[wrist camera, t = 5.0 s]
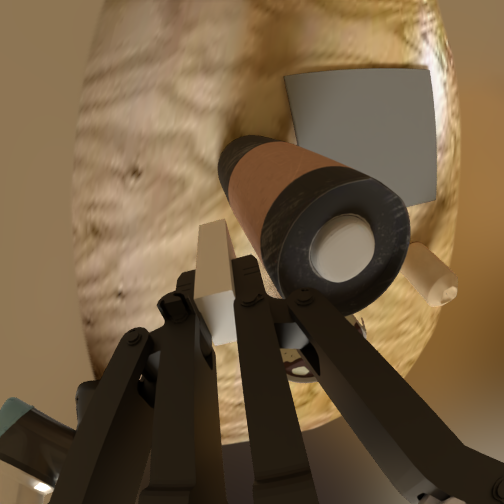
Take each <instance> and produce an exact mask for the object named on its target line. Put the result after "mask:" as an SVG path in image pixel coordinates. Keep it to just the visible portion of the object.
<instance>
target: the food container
mask: <svg viewBox="0 0 504 504" xmlns="http://www.w3.org/2000/svg"><path fill="white" fill-rule="evenodd" d="M345 318H346V319H347V320H348V321H349V322H350V323H351V324H352V325H353V326H354V327H355V328H356V329H357V330H358V331H359V332H360V333H361V334H362V335H363V337H364V338H365V339H366V329H365V325H364V321H363V319H362V318H361V320H362V324H363V326H361V324H360V323H359V322H358V320H357V319H356V318H355V316H354V315H353V314H352V315H349V316H346V317H345ZM280 351H281V354H282V358H283V362H284V366H285V370H286V374H287V378H288V380H289V381H292V382H297V383H313V382H318V381H317V379H316V378H315V376H314V375H313V373H312V372H311V371H310V369H309V368H308V366H307V365H306V363H305V362H304V361H303V359H302V358H301V356H300V355H299V353H298V352H297V350H296V349H280Z"/></svg>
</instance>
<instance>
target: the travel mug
mask: <svg viewBox="0 0 504 504" xmlns="http://www.w3.org/2000/svg"><path fill="white" fill-rule="evenodd" d="M218 176H219V180H220V183H221V185H222V188H223V190H224V192H225V195H226V197H227V199H228V202H229V204H230V206H231V208H232V211H233V213H234V214H235V216H236V218H237V220H238V222H239V223H240V225H241V227H242V229H243V230H244V232H245V234H246V236H247V237H248V239H249V241H250V243H251V244H252V246H253V248H254V250H255V252H256V253H257V255H258V257H259V259H260V260H261V262H262V264H263V266H264V268H265V269H266V271H267V273H268V275H269V276H270V278H271V280H272V282H273V284H274V285H275V287H276V289H277V291H278V292H279V294H280V295H281V297H282V298H283V299H287V298H288V296H289V295H290V294H291V293H292V292H293V291H295V290H297V289H300V288H308V287H310V288H314V289H317V290H318V291H320V292H321V293H322V294H323V295H324V296H325V297H326V298H327V299H328V300H329V301H330V302H331V303H332V304H333V306H334V307H335V308H336V309H337V310H338V311H339V312H340V313H341V314H342V315H343V316H344V317H346V316H349V315H352V314H354V313H356V312H358V311H360V310H362V309H364V308H365V307H367V306H368V305H370V304H371V303H373V302H374V301H375V300H376V299H377V298H379V297H380V296H381V295H382V294H383V293H384V292H385V291H386V290H387V288H388V287H389V286H390V285H391V284H392V282H393V281H394V279H395V278H396V276H397V275H398V273H399V271H400V269H401V268H402V265H403V263H404V261H405V258H406V255H407V252H408V248H409V243H410V219H409V215H408V211H407V208H406V206H405V203H404V202H403V200H402V199H401V198H400V197H399V196H398V195H397V194H396V193H394V192H393V191H392V190H391V189H389V188H388V187H387V186H385V185H384V184H383V183H382V182H380V181H378V180H376V179H375V178H373V177H370V176H368V175H366V174H364V173H362V172H360V171H357V170H355V169H353V168H351V167H348V166H346V165H344V164H341V163H339V162H337V161H334V160H332V159H330V158H327V157H325V156H322V155H320V154H317V153H315V152H312V151H310V150H307V149H305V148H302V147H300V146H297V145H294V144H291V143H287V142H284V141H280V140H275V139H271V138H267V137H263V136H256V135H248V136H243V137H240V138H238V139H236V140H234V141H232V142H231V143H230V144H229V145H228V146H227V147H226V148H225V149H224V151H223V152H222V154H221V156H220V159H219V162H218Z"/></svg>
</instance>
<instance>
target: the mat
mask: <svg viewBox="0 0 504 504" xmlns="http://www.w3.org/2000/svg"><path fill="white" fill-rule="evenodd" d="M284 80H285V85H286V89H287V94H288V99H289V103H290V108H291V113H292V118H293V123H294V128H295V134H296V139H297V145H298V146H300V147H302V148H305V149H307V150H310V151H312V152H315V153H317V154H320V155H322V156H325V157H327V158H330V159H332V160H334V161H337V162H339V163H341V164H344V165H346V166H348V167H351V168H353V169H355V170H357V171H360V172H362V173H364V174H366V175H368V176H370V177H373V178H375V179H376V180H378V181H380V182H382V183H383V184H384V185H385V186H387V187H388V188H389V189H391V190H392V191H393V192H394V193H396V194H397V195H398V196H399V197H400V198H401V199H402V200H403V202H404V203H405V206H406V207H409V206H413V205H417V204H422V203H426V202H430V201H434V200H436V186H437V146H436V125H435V111H434V101H433V92H432V84H431V76H430V70H423V69H398V68H373V69H347V70H333V71H321V72H312V73H303V74H295V75H288V76H284Z"/></svg>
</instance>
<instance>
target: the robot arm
mask: <svg viewBox="0 0 504 504" xmlns="http://www.w3.org/2000/svg"><path fill="white" fill-rule="evenodd" d="M176 287H177V288H176V291H173V292H170V293H168V294H166V295H165V296H163V297H162V298H161V299H160V300H159V301H158V304H157V307H158V309H159V311H160V312H161V314H162V316H163V318H164V320H165V323H164V325H163V326H162V327H160V328H158V329H156V330H154V331H152V332H150V333H149V332H148V331H147V330H146V329H145V328H142V327H137V328H133V329H131V330H129V331H128V332H127V333H125V334H124V336H123V337H122V338H121V340H120V342H119V344H118V346H117V348H116V350H115V352H114V354H113V356H112V358H111V360H110V362H109V364H108V366H107V368H106V370H105V372H104V374H103V376H102V378H101V380H100V381H87V382H83V383H81V384H80V385H79V387H78V390H77V393H76V398H75V399H76V410H77V420H78V425H77V429H76V430H74V429H72V428H70V427H68V426H66V425H64V424H62V423H60V422H58V421H56V420H55V419H53V418H51V417H49V416H47V415H46V414H44V413H42V412H40V411H39V410H37V409H36V408H34V406H30V405H28V404H27V403H25V402H23V401H21V400H20V399H18V398H15V397H11V398H9V399H7V400H6V402H5V403H4V404H3V406H2V408H1V410H0V504H43V502H44V496H45V495H46V494H48V493H51V492H53V493H52V496H51V499H50V502H49V503H48V504H135V501H136V497H137V494H138V490H139V487H140V483H141V480H142V476H143V473H144V470H145V467H146V463H147V460H148V456H149V453H150V450H151V466H150V467H151V468H150V483H149V486H148V487H147V488H145V489H144V490H142V492H141V494H140V496H139V504H228V502H227V497H226V488H225V479H224V469H223V458H222V445H221V433H220V420H219V405H218V390H217V372H216V355H215V352H214V350H213V348H212V340H213V342H214V344H215V346H217V345H221V344H226V343H230V342H235V341H237V344H238V353H239V362H240V370H241V378H242V386H243V394H244V402H245V410H246V418H247V425H248V433H249V440H250V447H251V454H252V462H253V468H254V476H255V480H254V484H253V499H254V504H319V502H318V498H317V494H316V490H315V486H314V482H313V478H312V474H311V470H310V466H309V462H308V458H307V454H306V450H305V446H304V442H303V438H302V434H301V430H300V426H299V422H298V418H297V414H296V410H295V406H294V402H293V398H292V394H291V390H290V386H289V382H288V378H287V374H286V370H285V366H284V362H283V358H282V354H281V351H280V349H296V350H297V352H298V353H299V355H300V356H301V358H302V359H303V361H304V362H305V363H306V365H307V366H308V368H309V369H310V371H311V372H312V373H313V375H314V376H315V378H316V379H317V381H318V382H319V383H320V385H321V386H322V388H323V389H324V391H325V392H326V393H327V395H328V396H329V398H330V399H331V400H332V402H333V403H334V405H335V406H336V407H337V409H338V410H339V412H340V413H341V415H342V416H343V417H344V419H345V420H346V422H347V423H348V424H349V426H350V427H351V428H352V430H353V431H354V433H355V434H356V435H357V437H358V438H359V440H360V441H361V442H362V444H363V445H364V446H365V448H366V449H367V451H368V452H369V453H370V454H371V456H372V457H373V459H374V460H375V462H376V463H377V464H378V466H379V467H380V468H381V470H382V471H383V472H384V474H385V475H386V476H387V478H388V479H389V480H390V482H391V483H392V484H393V486H394V487H395V488H396V489H397V490H398V492H399V493H400V494H401V495H402V496H403V497H404V498H406V499H407V500H408V501H409V502H410V503H411V504H504V463H503V462H500V461H498V460H496V459H493V458H491V457H489V456H486V455H484V454H482V453H480V452H478V451H476V450H473V449H471V448H469V447H467V446H465V445H464V444H463V443H462V442H461V441H460V440H459V439H458V438H457V436H456V435H455V434H454V433H453V432H452V431H451V430H450V429H449V428H448V427H447V425H446V424H445V423H444V422H443V421H442V420H441V419H440V418H439V417H438V415H437V414H436V413H435V412H434V411H433V410H432V409H431V408H430V407H429V406H428V405H427V403H426V402H425V401H424V400H423V399H422V398H421V397H420V396H419V395H418V394H417V393H416V392H415V391H414V390H413V389H412V387H411V386H410V385H409V384H408V383H407V382H406V381H405V380H404V379H403V378H402V377H401V376H400V374H399V373H398V372H397V371H396V370H395V369H394V368H393V367H392V366H391V365H390V364H389V363H388V362H387V361H386V360H385V359H384V357H383V356H382V355H381V354H380V353H379V352H378V351H377V350H376V349H375V348H374V347H373V346H372V345H371V344H370V343H369V342H368V341H367V340H366V339H365V338H364V337H363V335H362V334H361V333H360V332H359V331H358V330H357V329H356V328H355V327H354V326H353V325H352V324H351V323H350V322H349V321H348V320H347V319H346V318H345V317H344V316H343V315H342V314H341V313H340V312H339V311H338V310H337V309H336V308H335V307H334V306H333V304H332V303H331V302H330V301H329V300H328V299H327V298H326V297H325V296H324V295H323V294H322V293H321V292H320V291H318V290H317V289H314V288H310V287H308V288H300V289H297V290H295V291H293V292H292V293H291V294H290V295H289V296H288V298H287V299H277V298H273V297H271V296H269V295H268V294H267V293H266V291H265V288H264V284H263V280H262V277H261V273H260V269H259V265H258V261H257V259H256V258H255V257H254V256H253V255H247V256H243V257H239V258H236V255H235V252H234V248H233V245H232V241H231V238H230V235H229V231H228V228H227V224H226V221H225V219H222V220H218V221H214V222H210V223H207V224H203V225H199V236H198V247H197V259H196V269H195V270H191V271H187V272H183V273H182V274H181V275H180V277H179V278H178V280H177V285H176ZM141 374H142V377H141V379H140V376H141ZM139 379H140V380H139ZM55 484H56V485H55Z"/></svg>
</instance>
